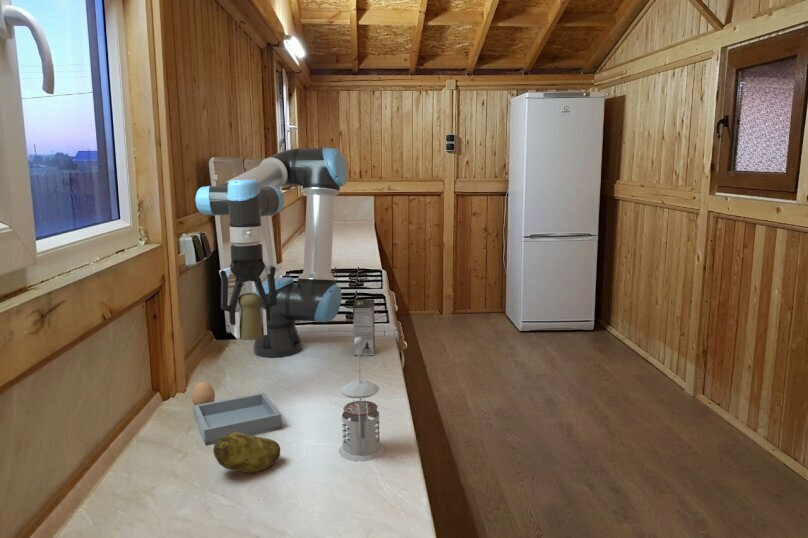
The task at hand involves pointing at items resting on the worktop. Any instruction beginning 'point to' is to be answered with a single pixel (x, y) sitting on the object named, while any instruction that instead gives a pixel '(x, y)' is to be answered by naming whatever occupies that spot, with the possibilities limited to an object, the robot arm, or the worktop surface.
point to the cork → (250, 317)
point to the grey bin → (236, 417)
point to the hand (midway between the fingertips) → (250, 335)
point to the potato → (246, 452)
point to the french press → (360, 420)
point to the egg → (203, 394)
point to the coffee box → (364, 326)
